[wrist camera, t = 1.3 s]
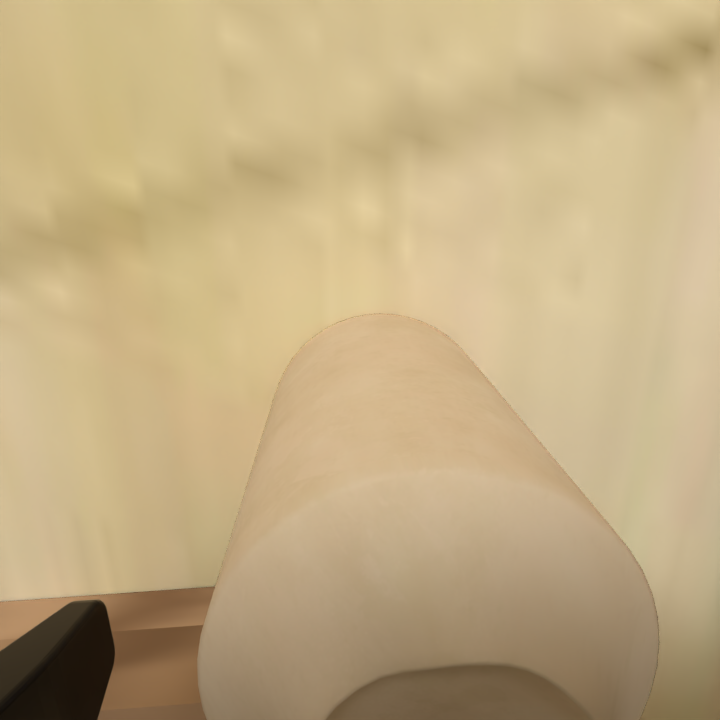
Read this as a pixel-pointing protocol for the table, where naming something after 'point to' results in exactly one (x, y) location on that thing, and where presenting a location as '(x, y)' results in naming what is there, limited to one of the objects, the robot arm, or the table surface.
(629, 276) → the table surface
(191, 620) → the board
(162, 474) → the table surface
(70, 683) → the robot arm
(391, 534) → the candle
